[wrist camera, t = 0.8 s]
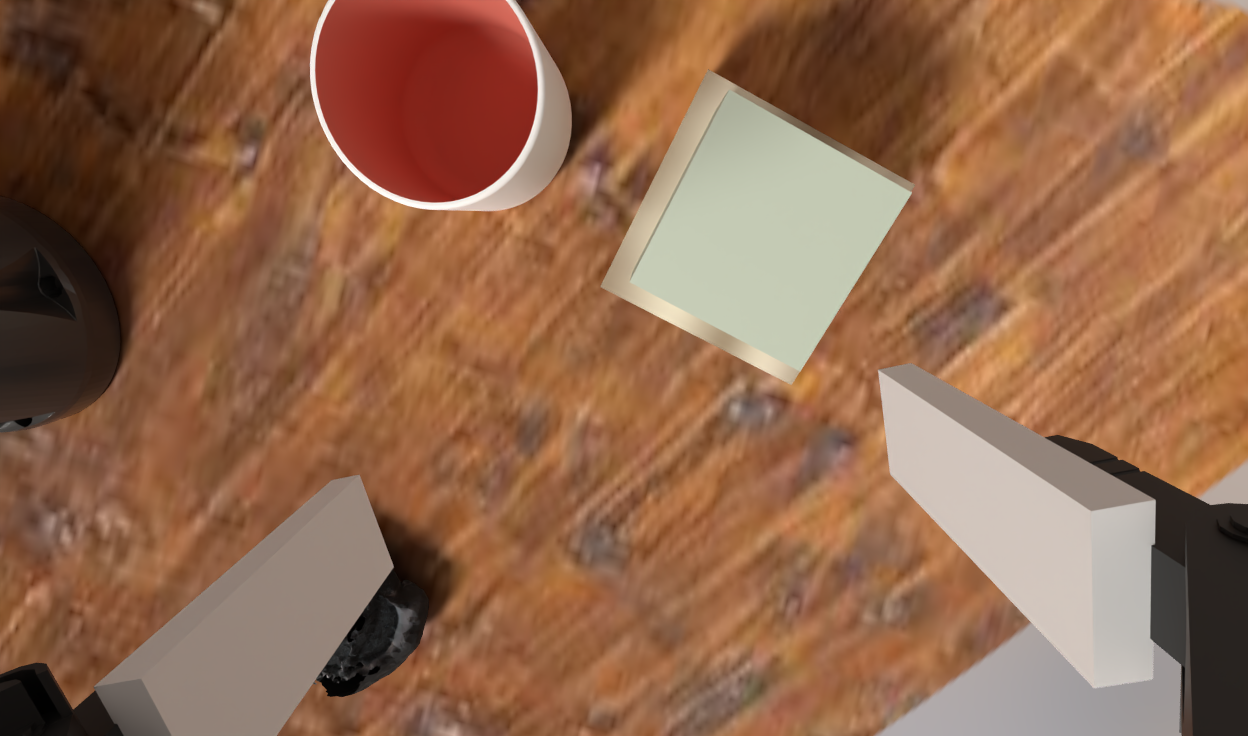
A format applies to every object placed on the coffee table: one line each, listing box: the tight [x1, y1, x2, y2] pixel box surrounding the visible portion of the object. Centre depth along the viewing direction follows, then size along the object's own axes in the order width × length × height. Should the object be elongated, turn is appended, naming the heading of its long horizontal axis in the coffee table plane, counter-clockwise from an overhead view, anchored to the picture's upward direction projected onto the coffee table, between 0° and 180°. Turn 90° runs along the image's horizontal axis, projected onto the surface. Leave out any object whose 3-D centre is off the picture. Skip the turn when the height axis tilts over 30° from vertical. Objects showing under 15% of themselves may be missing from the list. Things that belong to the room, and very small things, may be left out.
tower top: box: [630, 90, 912, 371], centre depth 28 cm, size 9×9×5 cm
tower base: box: [600, 70, 915, 385], centre depth 33 cm, size 12×12×5 cm
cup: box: [310, 0, 572, 211], centre depth 29 cm, size 10×10×10 cm
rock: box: [313, 569, 429, 697], centre depth 40 cm, size 9×10×10 cm
